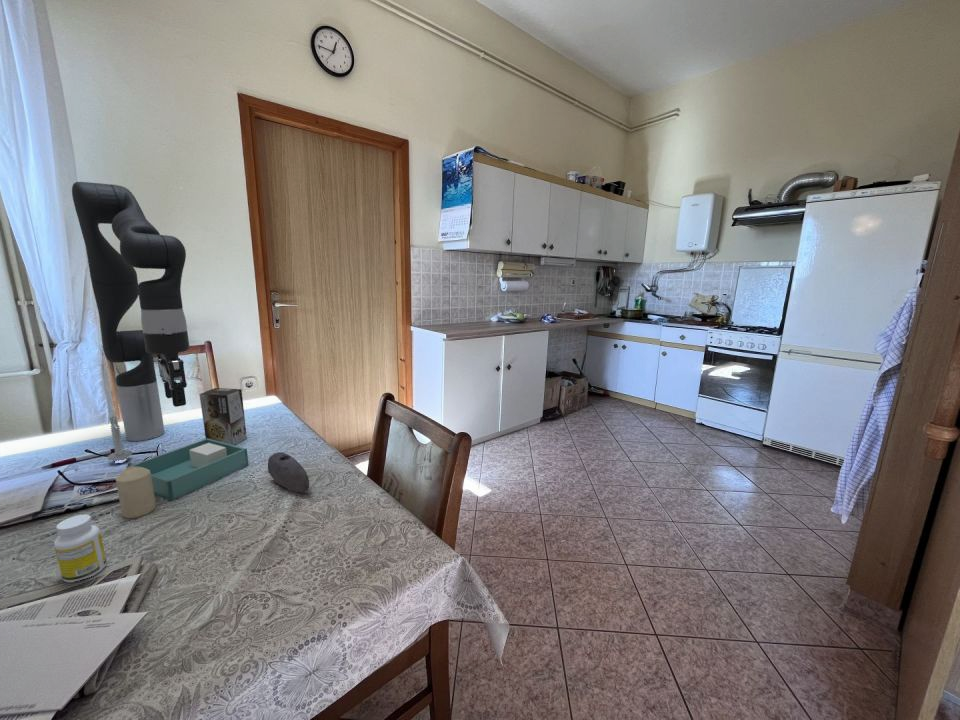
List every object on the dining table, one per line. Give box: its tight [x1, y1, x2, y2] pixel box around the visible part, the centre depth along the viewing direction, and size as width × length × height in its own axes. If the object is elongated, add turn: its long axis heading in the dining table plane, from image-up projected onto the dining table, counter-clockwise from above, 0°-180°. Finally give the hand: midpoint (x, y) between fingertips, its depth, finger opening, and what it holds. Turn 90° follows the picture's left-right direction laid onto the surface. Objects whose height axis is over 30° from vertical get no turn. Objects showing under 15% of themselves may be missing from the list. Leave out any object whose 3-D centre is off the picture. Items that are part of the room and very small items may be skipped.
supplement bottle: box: [53, 514, 107, 583], centre depth 65 cm, size 5×5×10 cm
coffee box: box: [199, 387, 248, 446], centre depth 117 cm, size 9×6×16 cm
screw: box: [107, 416, 133, 462], centre depth 103 cm, size 13×5×5 cm
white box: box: [189, 443, 227, 468], centre depth 102 cm, size 7×5×4 cm
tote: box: [125, 438, 249, 502], centre depth 98 cm, size 16×19×5 cm
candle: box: [115, 465, 157, 519], centre depth 82 cm, size 6×6×10 cm
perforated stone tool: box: [267, 452, 310, 494], centre depth 94 cm, size 15×5×7 cm, turn 51°
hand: (175, 401), depth 87 cm, fingers open, 8 cm apart
